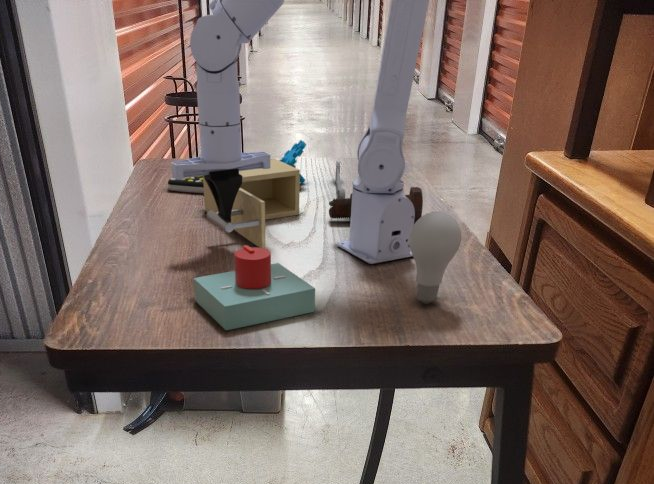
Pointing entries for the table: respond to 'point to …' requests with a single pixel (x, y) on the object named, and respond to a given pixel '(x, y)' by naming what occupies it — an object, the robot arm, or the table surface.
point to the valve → (252, 267)
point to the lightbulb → (433, 250)
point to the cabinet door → (244, 218)
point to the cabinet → (268, 189)
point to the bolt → (343, 206)
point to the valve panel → (254, 298)
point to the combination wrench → (339, 182)
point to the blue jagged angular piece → (294, 156)
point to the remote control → (187, 184)
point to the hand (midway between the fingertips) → (225, 225)
